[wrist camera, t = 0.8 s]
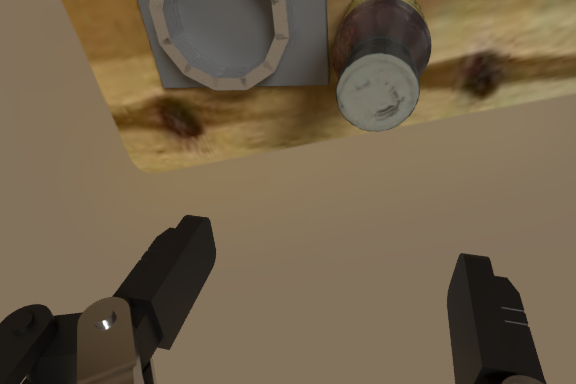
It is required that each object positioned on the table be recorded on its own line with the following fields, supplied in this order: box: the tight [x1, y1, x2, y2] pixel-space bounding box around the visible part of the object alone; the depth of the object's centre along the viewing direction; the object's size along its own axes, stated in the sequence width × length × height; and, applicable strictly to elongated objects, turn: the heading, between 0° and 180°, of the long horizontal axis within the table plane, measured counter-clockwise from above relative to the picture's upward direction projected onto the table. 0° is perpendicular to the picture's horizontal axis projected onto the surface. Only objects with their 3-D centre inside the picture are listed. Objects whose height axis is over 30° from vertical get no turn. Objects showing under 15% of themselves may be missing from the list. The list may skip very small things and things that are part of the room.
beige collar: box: [149, 0, 296, 90], centre depth 35 cm, size 12×12×3 cm
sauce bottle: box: [333, 0, 431, 132], centre depth 27 cm, size 6×6×20 cm
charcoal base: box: [138, 0, 330, 88], centre depth 37 cm, size 18×14×1 cm
